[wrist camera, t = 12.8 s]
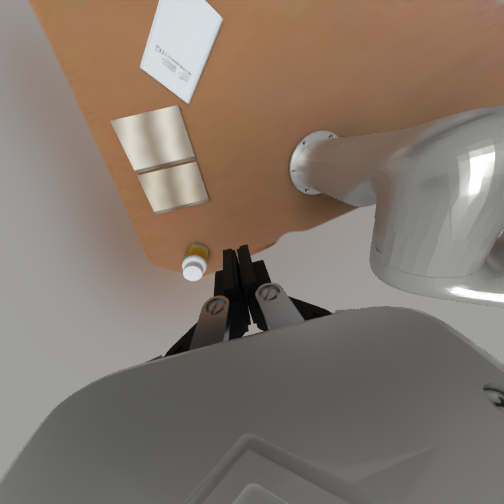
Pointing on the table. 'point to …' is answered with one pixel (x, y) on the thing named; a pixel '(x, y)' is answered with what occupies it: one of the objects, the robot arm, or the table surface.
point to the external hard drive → (180, 44)
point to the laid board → (155, 139)
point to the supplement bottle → (195, 261)
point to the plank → (174, 187)
